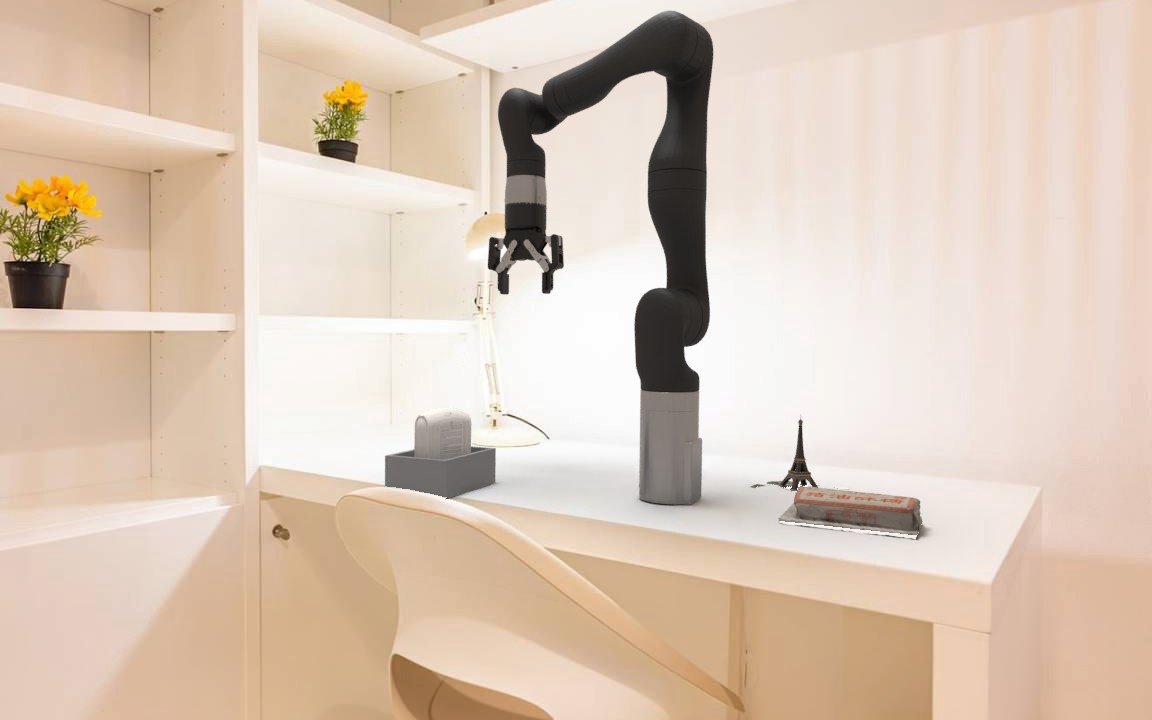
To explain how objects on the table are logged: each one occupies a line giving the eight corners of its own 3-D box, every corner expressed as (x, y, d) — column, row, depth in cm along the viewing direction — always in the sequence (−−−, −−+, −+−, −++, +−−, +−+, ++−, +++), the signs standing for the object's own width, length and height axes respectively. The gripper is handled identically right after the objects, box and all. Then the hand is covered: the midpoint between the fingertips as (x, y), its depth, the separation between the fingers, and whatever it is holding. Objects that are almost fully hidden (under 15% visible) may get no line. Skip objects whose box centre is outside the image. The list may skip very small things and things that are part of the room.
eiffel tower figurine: (852, 491, 139) (854, 414, 138) (838, 501, 130) (840, 418, 130) (768, 481, 147) (769, 408, 146) (748, 490, 138) (750, 413, 137)
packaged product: (924, 493, 112) (918, 506, 103) (923, 527, 112) (917, 543, 104) (793, 480, 120) (777, 492, 112) (792, 512, 121) (777, 527, 112)
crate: (495, 482, 140) (495, 448, 140) (445, 499, 126) (446, 460, 125) (438, 477, 144) (439, 443, 144) (384, 492, 130) (385, 455, 130)
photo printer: (458, 476, 140) (458, 405, 140) (474, 479, 137) (475, 407, 137) (409, 483, 133) (410, 409, 132) (426, 487, 130) (426, 410, 129)
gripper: (570, 204, 146) (569, 294, 146) (501, 209, 151) (500, 295, 152) (552, 198, 139) (551, 292, 139) (480, 203, 145) (480, 293, 145)
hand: (524, 294), depth 146 cm, fingers open, 8 cm apart
